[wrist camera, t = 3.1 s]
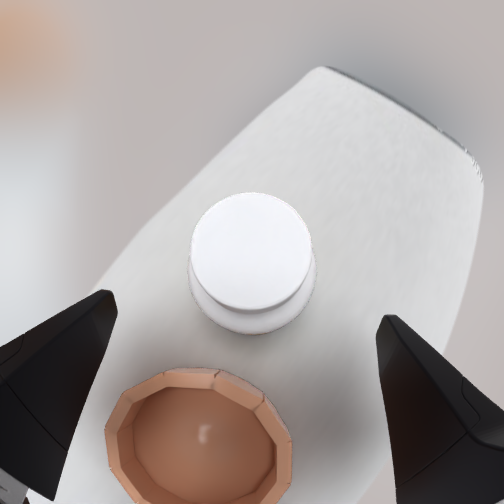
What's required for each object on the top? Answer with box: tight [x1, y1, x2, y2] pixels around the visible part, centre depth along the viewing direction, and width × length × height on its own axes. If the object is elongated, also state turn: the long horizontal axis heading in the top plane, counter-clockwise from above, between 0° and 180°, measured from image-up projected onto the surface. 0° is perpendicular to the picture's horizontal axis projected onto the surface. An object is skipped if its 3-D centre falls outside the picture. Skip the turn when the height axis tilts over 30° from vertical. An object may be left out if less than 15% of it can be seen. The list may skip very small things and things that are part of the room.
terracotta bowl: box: [104, 368, 292, 504], centre depth 15 cm, size 11×11×3 cm
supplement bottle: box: [187, 192, 317, 335], centre depth 14 cm, size 5×5×10 cm
